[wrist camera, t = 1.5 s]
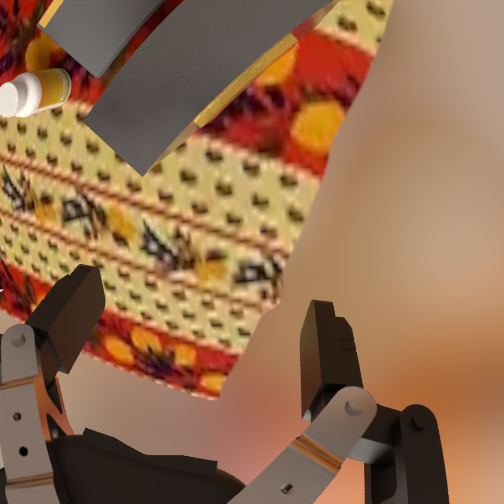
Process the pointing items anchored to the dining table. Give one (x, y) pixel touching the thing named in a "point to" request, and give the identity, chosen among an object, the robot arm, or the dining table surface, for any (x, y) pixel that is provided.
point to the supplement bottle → (34, 92)
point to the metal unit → (195, 71)
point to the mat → (95, 28)
